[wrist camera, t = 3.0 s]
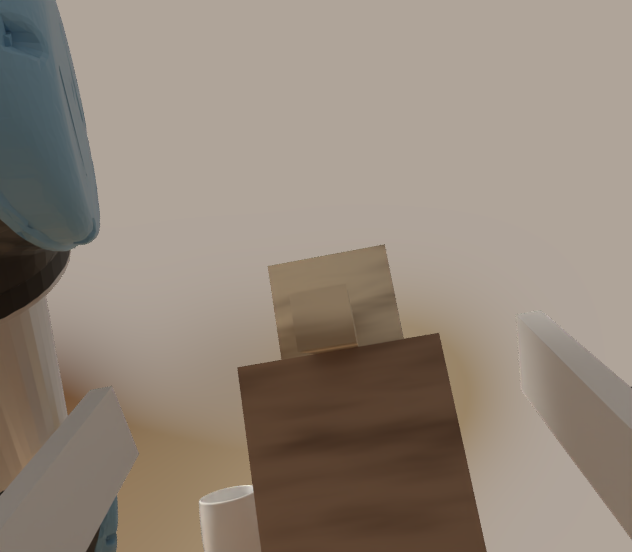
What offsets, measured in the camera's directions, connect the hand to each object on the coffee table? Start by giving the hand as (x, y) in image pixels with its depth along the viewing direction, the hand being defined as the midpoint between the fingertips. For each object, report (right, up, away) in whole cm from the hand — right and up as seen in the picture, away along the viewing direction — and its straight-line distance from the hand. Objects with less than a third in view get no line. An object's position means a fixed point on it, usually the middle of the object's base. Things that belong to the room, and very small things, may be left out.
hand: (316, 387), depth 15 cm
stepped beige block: (+2, -2, +20) cm, 21 cm away
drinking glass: (-7, -36, +34) cm, 50 cm away
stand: (+7, -30, +20) cm, 37 cm away
